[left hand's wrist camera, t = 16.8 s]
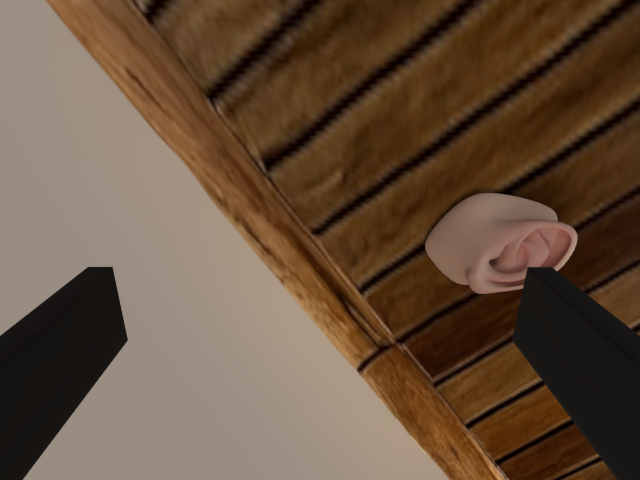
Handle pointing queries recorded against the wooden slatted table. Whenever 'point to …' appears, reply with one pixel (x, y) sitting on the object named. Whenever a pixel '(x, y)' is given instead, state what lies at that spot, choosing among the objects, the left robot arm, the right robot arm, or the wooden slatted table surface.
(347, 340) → the wooden slatted table surface
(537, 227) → the anatomical model
